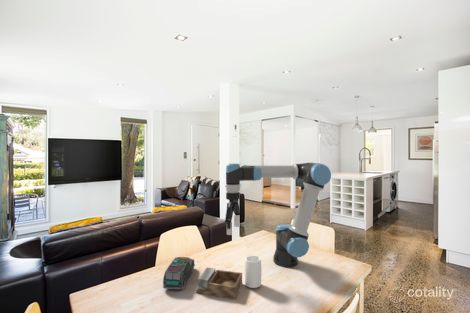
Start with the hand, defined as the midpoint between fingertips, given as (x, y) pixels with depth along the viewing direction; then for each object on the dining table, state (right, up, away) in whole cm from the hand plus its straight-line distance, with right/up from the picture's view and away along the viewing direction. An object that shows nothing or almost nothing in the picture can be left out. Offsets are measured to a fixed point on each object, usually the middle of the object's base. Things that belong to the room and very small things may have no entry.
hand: (233, 230), depth 131 cm
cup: (+10, -27, -7) cm, 29 cm away
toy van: (-29, -27, 0) cm, 39 cm away
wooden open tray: (-7, -26, -9) cm, 29 cm away
